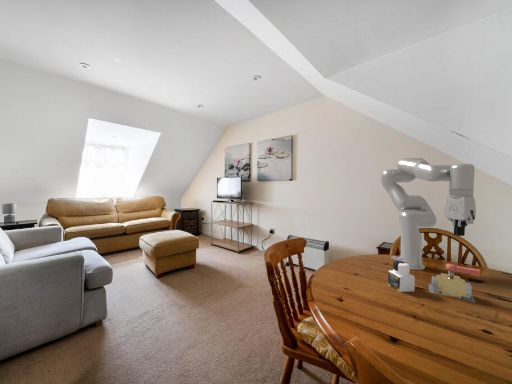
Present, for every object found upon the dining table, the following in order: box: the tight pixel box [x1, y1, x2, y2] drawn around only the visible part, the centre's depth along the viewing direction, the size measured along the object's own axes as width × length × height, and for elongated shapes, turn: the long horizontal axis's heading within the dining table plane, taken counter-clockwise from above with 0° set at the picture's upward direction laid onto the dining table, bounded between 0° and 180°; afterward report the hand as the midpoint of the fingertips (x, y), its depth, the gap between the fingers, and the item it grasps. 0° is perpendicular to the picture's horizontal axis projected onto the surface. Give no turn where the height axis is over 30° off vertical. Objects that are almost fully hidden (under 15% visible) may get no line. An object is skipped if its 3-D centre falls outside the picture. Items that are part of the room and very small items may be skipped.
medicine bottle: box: [387, 260, 416, 293], centre depth 94 cm, size 7×7×12 cm
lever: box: [445, 263, 481, 277], centre depth 86 cm, size 3×10×2 cm, turn 45°
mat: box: [428, 283, 476, 303], centre depth 90 cm, size 14×9×1 cm, turn 53°
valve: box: [431, 270, 473, 300], centre depth 89 cm, size 12×6×10 cm, turn 53°
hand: (459, 235), depth 91 cm, fingers closed
